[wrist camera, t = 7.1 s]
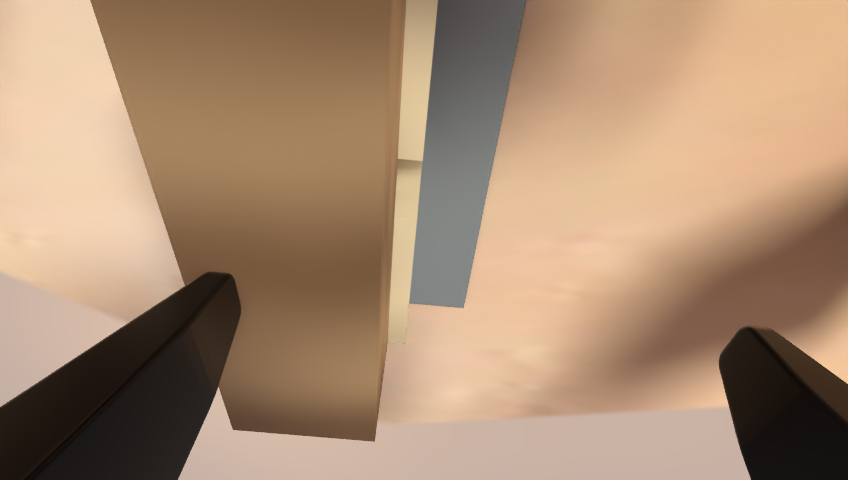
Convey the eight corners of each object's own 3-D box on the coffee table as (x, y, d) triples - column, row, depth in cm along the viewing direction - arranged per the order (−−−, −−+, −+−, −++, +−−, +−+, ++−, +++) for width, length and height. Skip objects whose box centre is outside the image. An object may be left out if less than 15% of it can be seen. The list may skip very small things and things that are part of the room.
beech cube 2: (424, 133, 19) (417, 218, 14) (414, 246, 22) (405, 344, 18) (278, 119, 19) (220, 200, 14) (291, 235, 22) (250, 330, 18)
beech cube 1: (447, -112, 14) (448, -107, 9) (429, 85, 18) (422, 161, 13) (248, -134, 14) (143, -141, 9) (272, 69, 17) (206, 140, 13)
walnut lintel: (387, 341, 18) (374, 441, 15) (271, 331, 18) (232, 429, 15) (412, -112, 9) (393, -107, 6) (183, -137, 9) (42, -145, 6)
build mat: (585, -299, 12) (586, -301, 11) (463, 305, 25) (463, 308, 25) (103, -356, 11) (99, -359, 11) (244, 285, 25) (242, 288, 25)
